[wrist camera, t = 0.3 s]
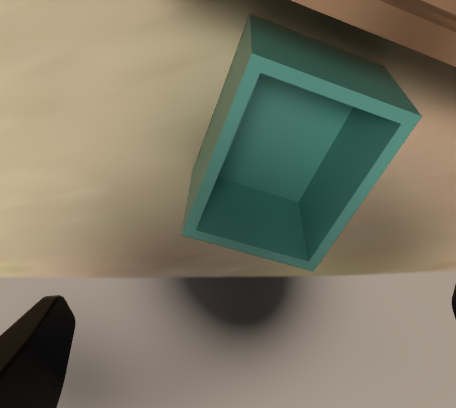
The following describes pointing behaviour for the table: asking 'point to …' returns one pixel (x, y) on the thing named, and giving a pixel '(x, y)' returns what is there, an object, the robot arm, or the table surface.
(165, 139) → the table surface
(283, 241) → the teal crate
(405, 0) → the box
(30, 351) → the robot arm
